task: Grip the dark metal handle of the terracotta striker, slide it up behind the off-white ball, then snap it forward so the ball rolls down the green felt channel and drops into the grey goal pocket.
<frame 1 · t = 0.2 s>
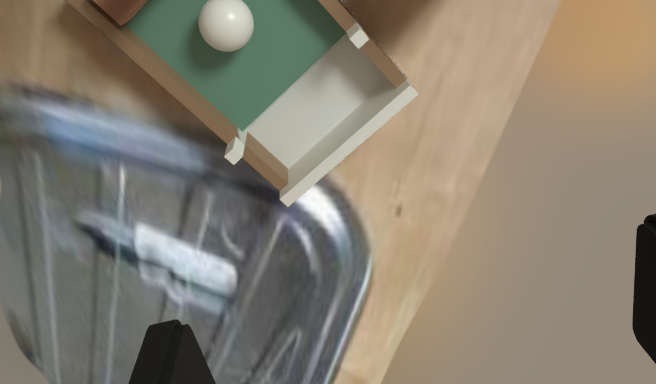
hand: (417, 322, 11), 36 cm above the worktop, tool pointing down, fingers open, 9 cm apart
pitch: (249, 34, 44), on the worktop
ball: (226, 23, 40), point 3 cm above the worktop, touching pitch
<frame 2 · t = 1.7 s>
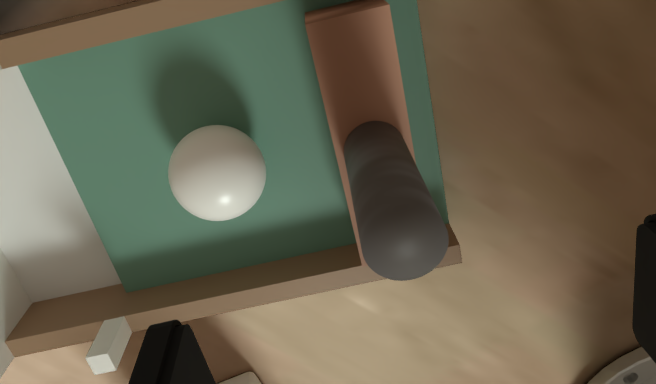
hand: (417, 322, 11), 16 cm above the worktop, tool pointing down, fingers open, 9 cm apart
striker: (381, 170, 19), point 7 cm above the worktop, slide at 0.0 cm
pitch: (187, 152, 26), on the worktop
ball: (217, 173, 23), point 3 cm above the worktop, touching pitch
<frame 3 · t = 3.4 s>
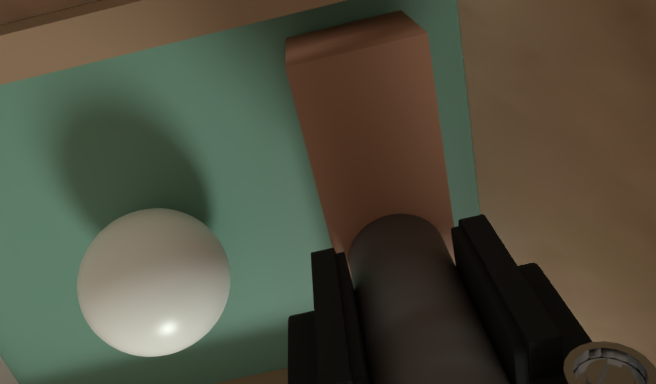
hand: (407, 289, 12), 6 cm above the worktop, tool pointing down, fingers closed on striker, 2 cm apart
striker: (412, 307, 12), point 7 cm above the worktop, slide at 0.0 cm, touching gripper
pitch: (122, 231, 18), on the worktop
ball: (156, 280, 15), point 3 cm above the worktop, touching pitch
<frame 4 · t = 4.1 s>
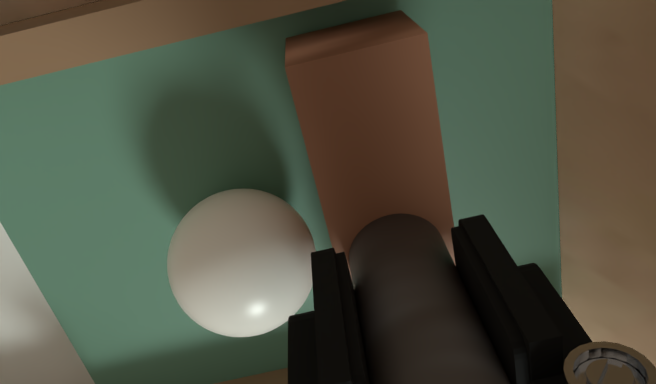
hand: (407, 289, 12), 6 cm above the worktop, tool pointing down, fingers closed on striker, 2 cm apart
striker: (412, 307, 12), point 7 cm above the worktop, slide at 2.5 cm, touching gripper
pitch: (192, 215, 18), on the worktop
ball: (243, 261, 15), point 3 cm above the worktop, touching pitch
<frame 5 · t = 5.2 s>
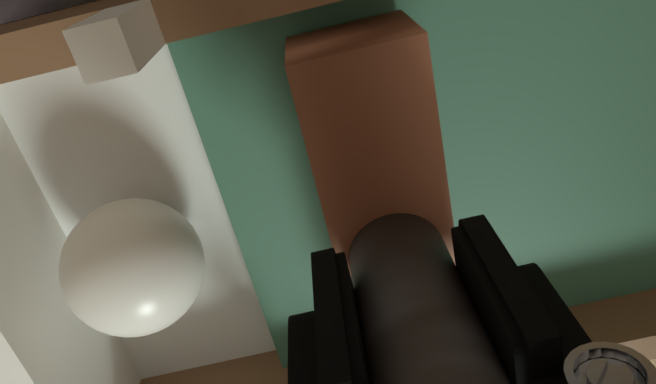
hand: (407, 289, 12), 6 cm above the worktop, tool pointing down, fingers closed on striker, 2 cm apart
striker: (412, 306, 12), point 7 cm above the worktop, slide at 9.0 cm, touching gripper
pitch: (385, 170, 18), on the worktop
ball: (134, 266, 16), point 2 cm above the worktop, tilted 79°, touching pitch
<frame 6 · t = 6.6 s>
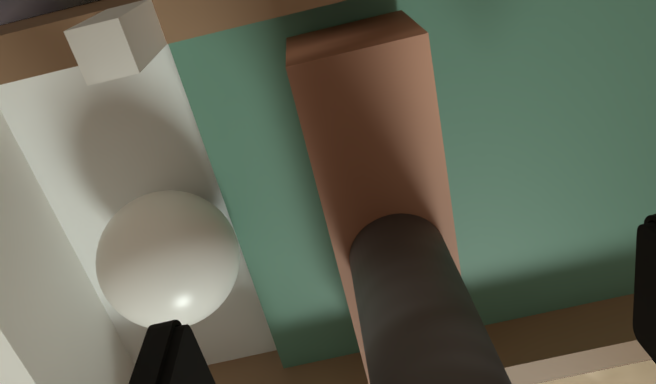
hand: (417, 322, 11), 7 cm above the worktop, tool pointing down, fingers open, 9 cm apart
striker: (413, 307, 12), point 7 cm above the worktop, slide at 9.0 cm
pitch: (385, 170, 18), on the worktop
ball: (170, 258, 16), point 2 cm above the worktop, tilted 109°, touching pitch
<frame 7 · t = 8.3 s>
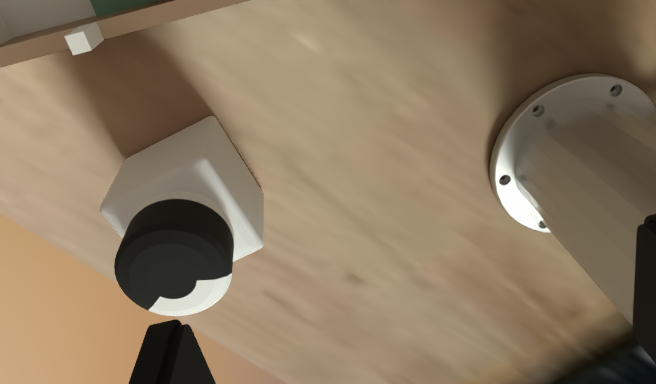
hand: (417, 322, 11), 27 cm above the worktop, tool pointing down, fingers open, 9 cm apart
medicine bottle: (196, 175, 39), on the worktop
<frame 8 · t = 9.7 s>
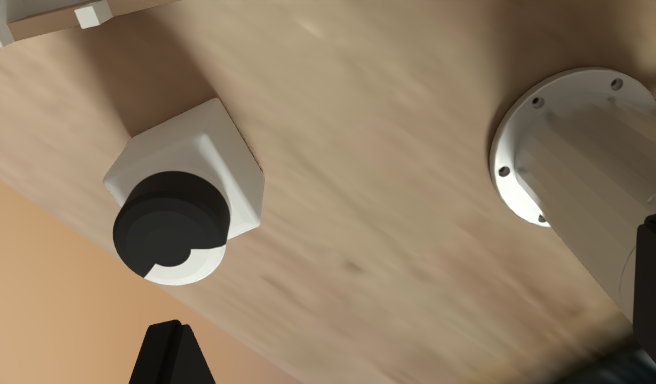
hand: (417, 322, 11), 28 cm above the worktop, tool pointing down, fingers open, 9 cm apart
medicine bottle: (200, 157, 40), on the worktop
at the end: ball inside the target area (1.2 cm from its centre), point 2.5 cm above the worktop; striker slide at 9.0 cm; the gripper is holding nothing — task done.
